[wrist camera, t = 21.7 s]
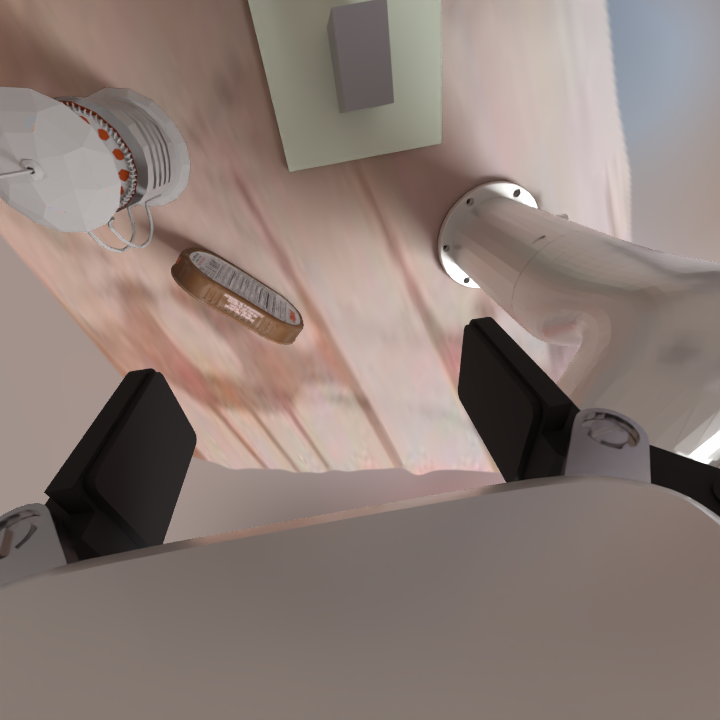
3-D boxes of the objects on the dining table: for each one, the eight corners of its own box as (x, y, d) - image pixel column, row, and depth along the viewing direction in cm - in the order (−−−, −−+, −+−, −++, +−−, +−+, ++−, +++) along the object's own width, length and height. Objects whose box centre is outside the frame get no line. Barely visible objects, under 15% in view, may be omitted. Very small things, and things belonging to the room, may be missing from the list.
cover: (434, -57, 28) (471, -108, 22) (437, 142, 36) (464, 146, 30) (243, -24, 27) (226, -66, 21) (289, 170, 36) (286, 180, 29)
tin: (182, 256, 39) (156, 284, 32) (195, 233, 37) (171, 258, 31) (294, 323, 45) (292, 358, 39) (307, 306, 44) (308, 339, 37)
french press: (160, 76, 30) (-147, -21, 9) (214, 214, 37) (102, 329, 16) (49, 98, 30) (-506, 44, 9) (124, 232, 36) (-101, 370, 16)
